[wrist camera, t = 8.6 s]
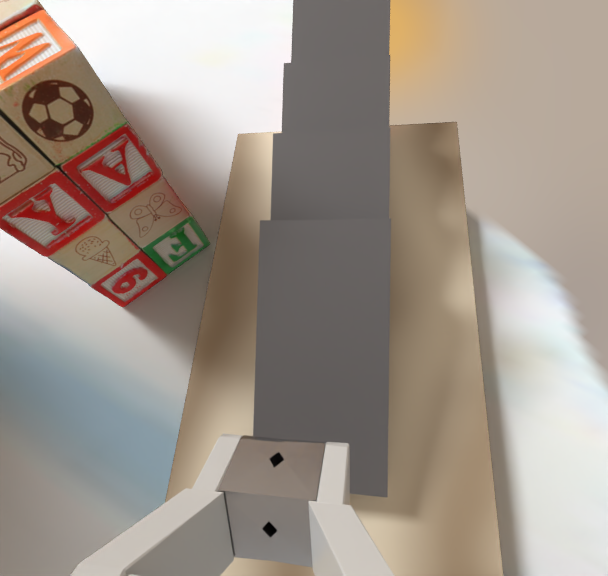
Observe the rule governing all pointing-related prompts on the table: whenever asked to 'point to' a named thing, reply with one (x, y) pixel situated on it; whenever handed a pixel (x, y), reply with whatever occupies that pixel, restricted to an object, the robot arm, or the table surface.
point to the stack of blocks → (80, 167)
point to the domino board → (402, 362)
